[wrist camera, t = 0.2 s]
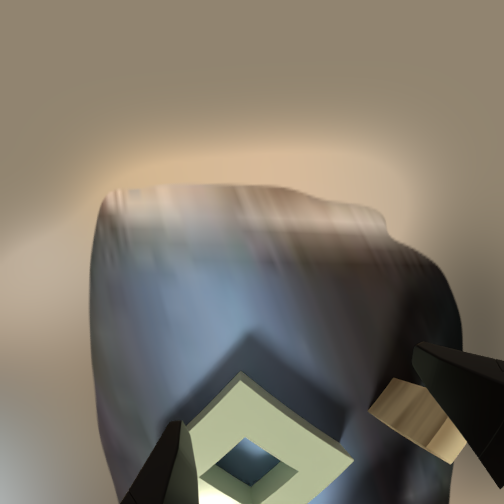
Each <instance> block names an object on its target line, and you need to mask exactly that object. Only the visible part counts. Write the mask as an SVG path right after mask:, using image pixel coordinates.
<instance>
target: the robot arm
mask: <svg viewBox="0 0 504 504" xmlns="http://www.w3.org/2000/svg"><path fill="white" fill-rule="evenodd" d="M412 365H413V367H414V369H415V370H416V372H417V373H418V375H419V377H420V378H421V380H422V381H423V383H424V385H425V386H426V388H427V389H428V391H429V392H430V394H431V395H432V397H433V398H434V399H435V400H436V402H437V403H438V404H439V405H440V407H441V408H442V409H443V411H444V412H445V413H446V415H447V416H448V417H449V419H450V420H451V421H452V422H453V424H454V425H455V426H456V428H457V429H458V430H459V432H460V433H461V435H462V436H463V437H464V439H465V440H466V441H467V443H468V444H469V445H470V447H471V448H472V450H473V451H474V452H475V454H476V455H477V457H478V458H479V460H480V461H481V463H482V464H483V465H484V467H485V468H486V470H487V471H488V473H489V474H490V476H491V477H492V478H493V480H494V481H495V483H496V484H497V486H498V487H499V488H500V489H501V488H502V487H503V486H504V361H502V360H498V359H496V360H495V359H493V358H489V357H484V356H480V355H476V354H471V353H467V352H463V351H459V350H455V349H451V348H447V347H443V346H439V345H435V344H431V343H427V342H421V343H419V344H417V345H415V347H414V350H413V356H412ZM120 504H199V493H198V477H197V469H196V464H195V458H194V452H193V447H192V441H191V436H190V433H189V431H188V430H187V428H186V426H185V424H184V423H183V421H182V420H175V421H171V422H169V424H168V426H167V427H166V429H165V431H164V432H163V434H162V436H161V437H160V439H159V441H158V442H157V444H156V446H155V447H154V449H153V451H152V452H151V454H150V456H149V457H148V459H147V461H146V462H145V464H144V466H143V467H142V469H141V471H140V472H139V474H138V475H137V477H136V479H135V480H134V482H133V484H132V485H131V487H130V489H129V491H128V492H127V493H126V495H125V496H124V498H123V500H122V501H121V503H120Z"/></svg>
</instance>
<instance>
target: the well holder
mask: <svg viewBox="0 0 504 504" xmlns="http://www.w3.org/2000/svg"><path fill="white" fill-rule="evenodd" d="M186 428H187V430H188V431H189V433H190V436H191V441H192V447H193V452H194V458H195V464H196V469H197V477H198V493H199V504H307V503H308V502H310V501H311V500H312V499H313V498H314V497H316V496H317V495H318V494H319V493H320V492H321V491H323V490H324V489H325V488H326V487H327V486H328V485H329V484H330V483H331V482H333V481H334V480H335V479H336V478H337V477H338V476H339V475H340V474H341V473H342V472H343V471H344V470H345V469H346V468H347V467H348V466H349V465H350V464H351V463H352V462H353V461H354V459H353V458H352V457H351V456H350V455H349V454H348V452H347V451H346V450H345V449H344V448H343V447H342V445H341V444H340V443H338V442H337V441H335V440H334V439H332V438H331V437H329V436H328V435H326V434H325V433H323V432H322V431H320V430H319V429H317V428H316V427H315V426H313V425H312V424H310V423H309V422H307V421H306V420H305V419H303V418H302V417H300V416H299V415H298V414H296V413H295V412H293V411H292V410H291V409H289V408H288V407H287V406H285V405H284V404H283V403H281V402H280V401H279V400H277V399H276V398H275V397H273V396H272V395H271V394H269V393H268V392H267V391H266V390H264V389H263V388H262V387H260V386H259V385H258V384H257V383H255V382H254V381H253V380H252V379H250V378H249V377H248V376H247V375H246V374H244V373H243V372H242V371H240V372H239V373H238V374H237V375H236V376H235V377H234V378H233V379H232V380H231V381H230V382H229V383H228V384H227V385H226V386H225V388H224V389H223V390H222V391H221V392H220V393H219V394H218V395H217V396H216V397H215V398H214V399H213V400H212V401H211V402H210V403H209V404H208V405H207V406H206V407H205V408H204V409H203V410H202V411H201V412H200V413H199V414H198V415H197V416H196V417H195V418H194V419H193V420H192V421H191V422H190V423H189V424H188V425H187V426H186ZM244 437H246V438H248V439H249V440H250V441H252V442H253V443H255V444H256V445H258V446H259V447H261V448H262V449H264V450H265V451H267V452H268V453H270V454H271V455H273V456H274V457H276V458H277V459H279V460H281V461H280V462H279V463H278V464H277V465H276V466H275V467H274V468H273V469H271V470H270V471H269V472H268V473H267V474H266V475H264V476H263V477H262V478H261V479H260V480H259V481H257V482H256V483H255V484H254V485H252V486H251V487H250V486H248V485H247V484H245V483H243V482H242V481H240V480H238V479H237V478H235V477H234V476H232V475H231V474H229V473H227V472H226V471H224V470H223V469H221V468H220V467H218V466H217V465H215V463H216V462H218V461H219V460H220V459H221V458H222V457H223V456H224V455H226V454H227V453H228V452H229V451H230V450H231V449H232V448H233V447H235V446H236V445H237V444H238V443H239V442H240V441H241V440H242V439H243V438H244Z"/></svg>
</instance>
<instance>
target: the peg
mask: <svg viewBox="0 0 504 504" xmlns="http://www.w3.org/2000/svg"><path fill="white" fill-rule="evenodd" d="M368 412H369V413H371V414H372V415H373V416H375V417H376V418H378V419H379V420H380V421H382V422H383V423H384V424H386V425H387V426H389V427H390V428H391V429H393V430H395V431H396V432H398V433H399V434H401V435H402V436H404V437H406V438H407V439H409V440H410V441H412V442H414V443H415V444H417V445H419V446H420V447H422V448H424V449H425V450H427V451H429V452H430V453H432V454H434V455H435V456H437V457H439V458H440V459H442V460H444V461H446V462H447V463H449V464H452V462H453V461H454V460H455V458H456V457H457V456H458V454H459V453H460V452H461V450H462V449H463V447H464V446H465V444H466V443H467V441H466V440H465V439H464V437H463V436H462V435H461V433H460V432H459V430H458V429H457V428H456V426H455V425H454V424H453V422H452V421H451V420H450V419H449V417H448V416H447V415H446V413H445V412H444V411H443V409H442V408H441V407H440V405H439V404H438V403H437V402H436V400H435V399H434V398H433V397H432V395H431V394H430V392H429V391H428V389H427V388H426V387H422V386H419V385H416V384H412V383H409V382H406V381H403V380H400V379H397V378H393V379H392V380H391V382H390V383H389V384H388V386H387V387H386V388H385V390H384V391H383V392H382V394H381V395H380V396H379V398H378V399H377V400H376V401H375V403H374V404H373V405H372V406H371V408H370V409H369V410H368Z"/></svg>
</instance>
